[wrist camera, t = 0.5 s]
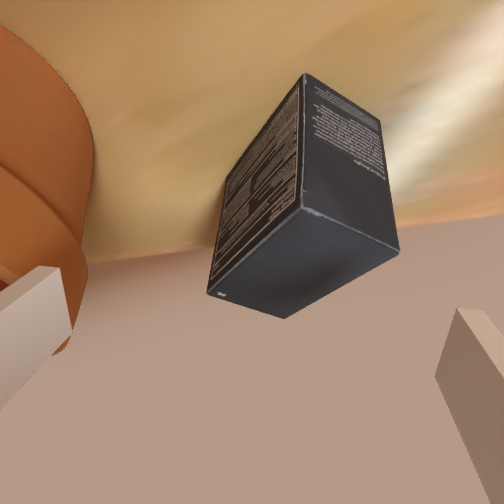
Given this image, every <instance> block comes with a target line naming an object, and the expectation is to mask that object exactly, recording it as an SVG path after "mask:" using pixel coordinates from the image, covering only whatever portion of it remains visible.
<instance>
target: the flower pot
mask: <svg viewBox="0 0 504 504" xmlns="http://www.w3.org/2000/svg"><path fill="white" fill-rule="evenodd" d="M92 169H93V140H92V134H91V129H90V126H89V123H88V120H87V117H86V115H85V113H84V111H83V109H82V107H81V105H80V103H79V102H78V100H77V99H76V97H75V95H74V94H73V92H72V91H71V89H70V88H69V87H68V85H67V84H66V83H65V81H64V80H63V79H62V78H61V77H60V76H59V75H58V73H57V72H56V71H55V70H54V69H53V68H52V67H51V66H50V65H49V64H48V63H47V62H46V61H45V60H44V59H43V58H42V57H41V56H40V55H39V54H38V53H37V52H36V51H35V50H33V49H32V48H31V47H30V46H29V45H27V44H26V43H25V42H24V41H22V40H21V39H20V38H18V37H17V36H16V35H14V34H13V33H11V32H10V31H8V30H7V29H5V28H3V27H2V26H0V292H1V291H3V290H4V289H5V288H7V287H8V286H10V285H11V284H13V283H14V282H16V281H17V280H19V279H20V278H22V277H23V276H24V275H26V274H27V273H29V272H30V271H32V270H33V269H35V268H36V267H38V266H47V267H57V268H60V273H61V278H62V283H63V288H64V293H65V298H66V302H67V307H68V312H69V317H70V322H71V327H72V330H73V327H74V325H75V322H76V318H77V315H78V311H79V308H80V305H81V301H82V297H83V294H84V290H85V286H86V282H87V278H88V269H87V263H86V260H85V256H84V254H83V252H82V250H81V243H82V235H83V228H84V221H85V214H86V208H87V202H88V196H89V190H90V184H91V178H92ZM70 336H71V335H70ZM70 336H69V337H68V338H67V339H66V340H65V341H64V342H63V343H62V344H61V346H60V347H59V348H58V349H57V350H56V351H55V352H54V353H53V354H52V355H55V354H57V353H59V352H60V351H62V350H63V349H64V348H65V347H66V345H67V343H68V342H69V339H70ZM52 355H51V356H52Z"/></svg>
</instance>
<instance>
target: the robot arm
mask: <svg viewBox="0 0 504 504" xmlns="http://www.w3.org/2000/svg"><path fill="white" fill-rule="evenodd" d="M71 334H72V327H71V322H70V317H69V312H68V307H67V302H66V298H65V293H64V288H63V283H62V278H61V273H60V268H57V267H47V266H38V267H36V268H35V269H33V270H32V271H30V272H29V273H27V274H26V275H24V276H23V277H22V278H20V279H19V280H17V281H16V282H14V283H13V284H11V285H10V286H8V287H7V288H5V289H4V290H3V291H1V292H0V410H1V409H2V407H3V406H4V405H5V404H6V403H7V402H8V401H9V400H10V399H11V398H12V397H13V396H14V395H15V394H16V393H17V392H18V390H19V389H20V388H21V387H22V386H23V385H24V384H25V383H26V382H27V381H28V380H29V379H30V377H32V375H33V374H34V373H35V372H36V371H37V370H38V369H39V368H40V367H41V366H42V365H43V364H44V363H45V362H46V360H47V359H48V358H49V357H50V356H51V355H52V354H53V353H54V352H55V351H56V350H57V349H58V348H59V347H60V346H61V344H62V343H63V342H64V341H65V340H66V339H67V338H68V337H69V336H70V335H71ZM435 378H436V381H437V383H438V385H439V387H440V389H441V392H442V394H443V396H444V399H445V401H446V403H447V405H448V408H449V410H450V412H451V415H452V417H453V419H454V421H455V424H456V426H457V428H458V430H459V433H460V435H461V437H462V440H463V442H464V444H465V446H466V449H467V451H468V453H469V456H470V458H471V460H472V462H473V464H474V467H475V469H476V471H477V474H478V476H479V478H480V480H481V483H482V485H483V487H484V490H485V492H486V494H487V496H488V499H489V501H490V503H491V504H504V337H503V336H502V335H501V334H500V332H499V331H498V330H497V328H496V327H495V326H494V325H493V323H492V322H491V321H490V319H489V318H488V317H487V316H486V314H485V313H484V312H483V311H482V310H471V309H462V308H456V311H455V315H454V317H453V320H452V324H451V327H450V330H449V333H448V336H447V339H446V342H445V345H444V348H443V351H442V355H441V358H440V361H439V364H438V367H437V370H436V373H435Z"/></svg>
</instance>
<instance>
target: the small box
mask: <svg viewBox="0 0 504 504" xmlns="http://www.w3.org/2000/svg"><path fill="white" fill-rule="evenodd" d="M399 254H400V248H399V241H398V237H397V230H396V223H395V217H394V211H393V204H392V198H391V192H390V185H389V178H388V171H387V165H386V158H385V151H384V144H383V138H382V131H381V123H380V120H378V119H377V118H376V117H374V116H373V115H371V114H370V113H368V112H367V111H365V110H364V109H362V108H360V107H359V106H358V105H356V104H355V103H353V102H351V101H350V100H348V99H347V98H345V97H344V96H342V95H341V94H339V93H337V92H336V91H334V90H333V89H331V88H330V87H328V86H327V85H325V84H324V83H322V82H320V81H319V80H317V79H316V78H314V77H313V76H311V75H309V74H307V73H305V74H303V75H302V76H301V77H300V79H299V80H298V82H297V83H296V84H295V85H294V87H293V88H292V90H291V91H290V92H289V93H288V95H287V96H286V98H285V99H284V100H283V102H282V103H281V104H280V106H279V107H278V108H277V110H276V111H275V112H274V114H273V115H272V116H271V118H270V119H269V120H268V122H267V123H266V125H265V126H264V127H263V129H262V130H261V131H260V133H259V134H258V135H257V137H256V138H255V140H254V141H253V142H252V143H251V144H250V146H249V148H248V149H247V150H246V152H245V153H244V154H243V156H242V157H241V158H240V160H239V161H238V162H237V164H236V165H235V167H234V168H233V170H232V171H231V172H230V174H229V175H228V176H227V178H226V186H225V192H224V199H223V206H222V211H221V217H220V224H219V229H218V233H217V237H216V243H215V249H214V254H213V260H212V264H211V270H210V275H209V281H208V286H207V292H206V293H207V294H208V295H210V296H213V297H216V298H219V299H222V300H226V301H229V302H232V303H235V304H238V305H241V306H244V307H247V308H251V309H254V310H257V311H260V312H263V313H266V314H270V315H273V316H276V317H279V318H282V319H285V318H287V317H289V316H290V315H292V314H294V313H296V312H298V311H299V310H301V309H303V308H305V307H306V306H308V305H310V304H312V303H314V302H315V301H317V300H319V299H320V298H322V297H324V296H326V295H328V294H329V293H331V292H333V291H335V290H337V289H338V288H340V287H342V286H344V285H345V284H347V283H349V282H351V281H352V280H354V279H356V278H358V277H359V276H361V275H363V274H365V273H366V272H368V271H370V270H372V269H374V268H376V267H377V266H379V265H381V264H383V263H385V262H386V261H388V260H390V259H392V258H394V257H396V256H397V255H399Z"/></svg>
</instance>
